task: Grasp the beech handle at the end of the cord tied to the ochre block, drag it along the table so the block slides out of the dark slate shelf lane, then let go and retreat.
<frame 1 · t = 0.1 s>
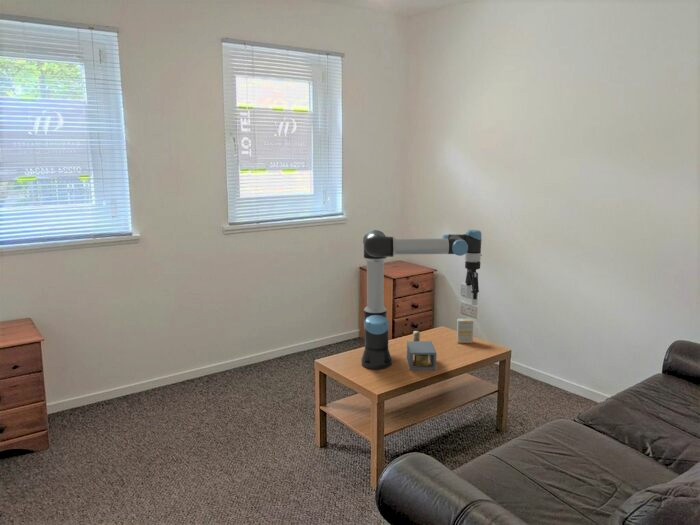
hand: (471, 301, 282), 28 cm above the table, fingers open, 13 cm apart
supplement box: (464, 342, 304), on the table
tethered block: (418, 357, 282), on the table
shelf lane: (420, 364, 273), on the table
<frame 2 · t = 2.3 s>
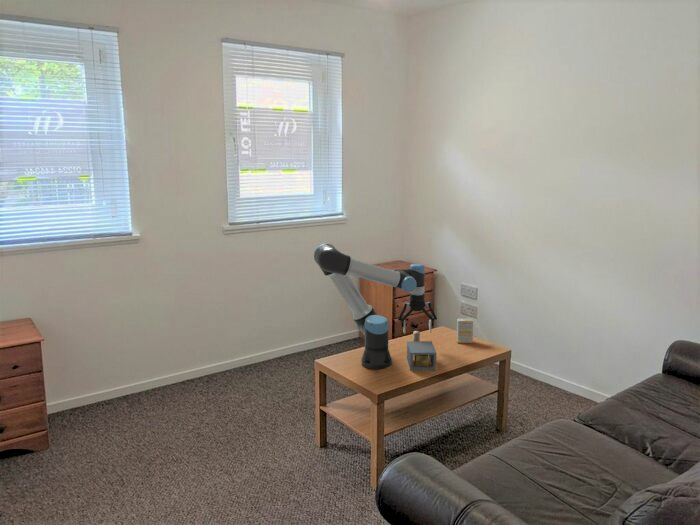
hand: (417, 332, 291), 10 cm above the table, fingers open, 13 cm apart
nothing on the table moved.
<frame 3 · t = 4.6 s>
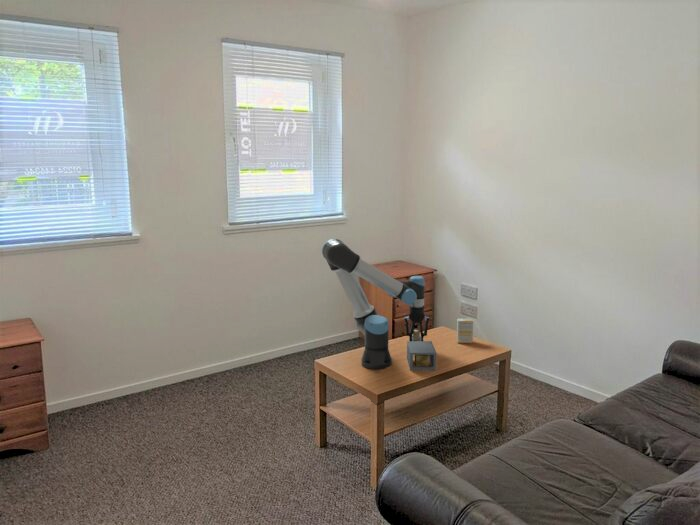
hand: (416, 348, 292), 1 cm above the table, fingers closed on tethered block, 3 cm apart
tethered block: (418, 356, 282), on the table, touching gripper
everything else where it was.
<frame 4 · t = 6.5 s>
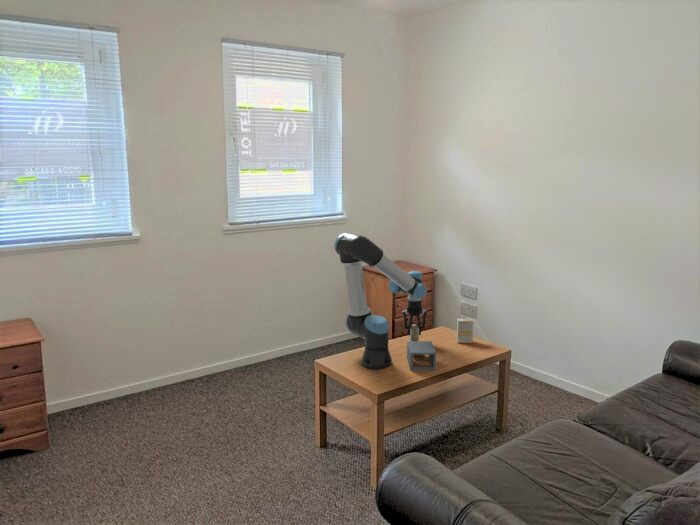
hand: (414, 340, 303), 1 cm above the table, fingers closed on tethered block, 3 cm apart
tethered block: (416, 349, 293), on the table, touching gripper
everything else where it was.
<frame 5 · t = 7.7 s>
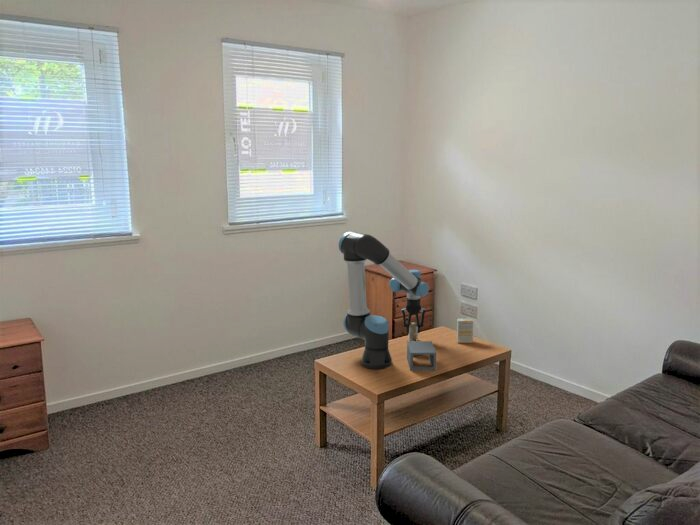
hand: (413, 338, 307), 1 cm above the table, fingers closed on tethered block, 3 cm apart
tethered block: (415, 347, 296), on the table, touching gripper
everything else where it was.
when the fingers open (0 cm above the table, at t = 8.4 s): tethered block stays where it is, on the table.
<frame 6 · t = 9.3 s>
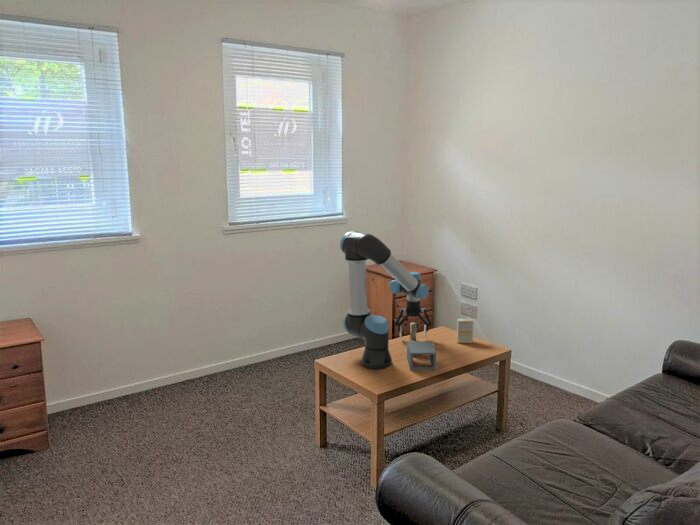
hand: (412, 336, 307), 2 cm above the table, fingers open, 13 cm apart
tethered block: (415, 347, 296), on the table
everything else where it was.
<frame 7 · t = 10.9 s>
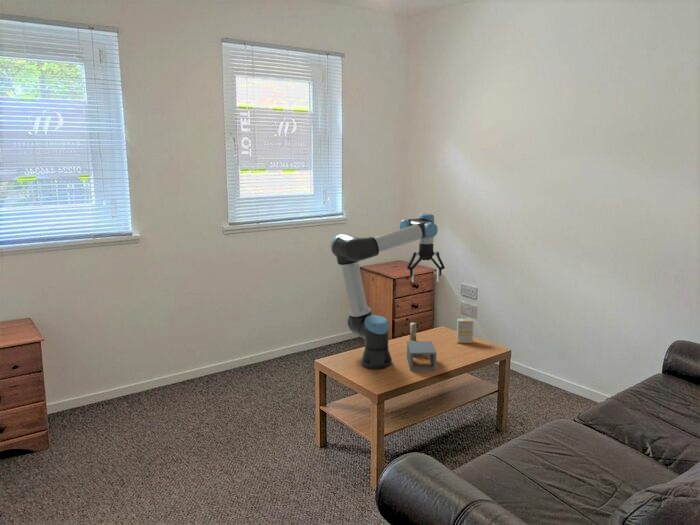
hand: (425, 281, 298), 34 cm above the table, fingers open, 13 cm apart
nothing on the table moved.
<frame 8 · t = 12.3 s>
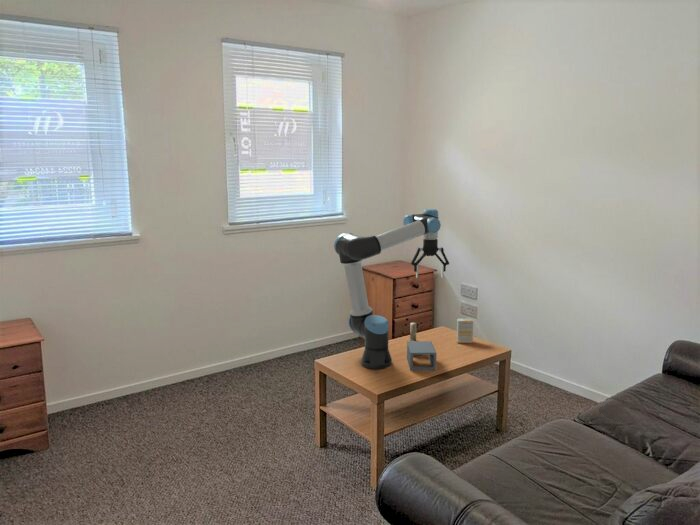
hand: (429, 277, 296), 37 cm above the table, fingers open, 13 cm apart
nothing on the table moved.
at the end: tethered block moved 14.6 cm from its start; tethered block inside the target area (1.4 cm from its centre), on the table; the gripper is holding nothing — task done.
